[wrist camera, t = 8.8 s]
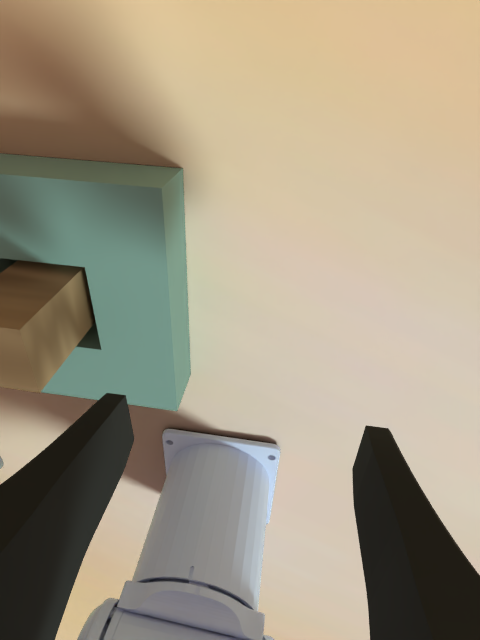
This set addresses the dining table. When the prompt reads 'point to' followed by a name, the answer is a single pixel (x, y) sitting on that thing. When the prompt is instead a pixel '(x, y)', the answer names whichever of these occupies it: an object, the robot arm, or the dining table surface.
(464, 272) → the dining table surface
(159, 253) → the socket block
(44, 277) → the peg
